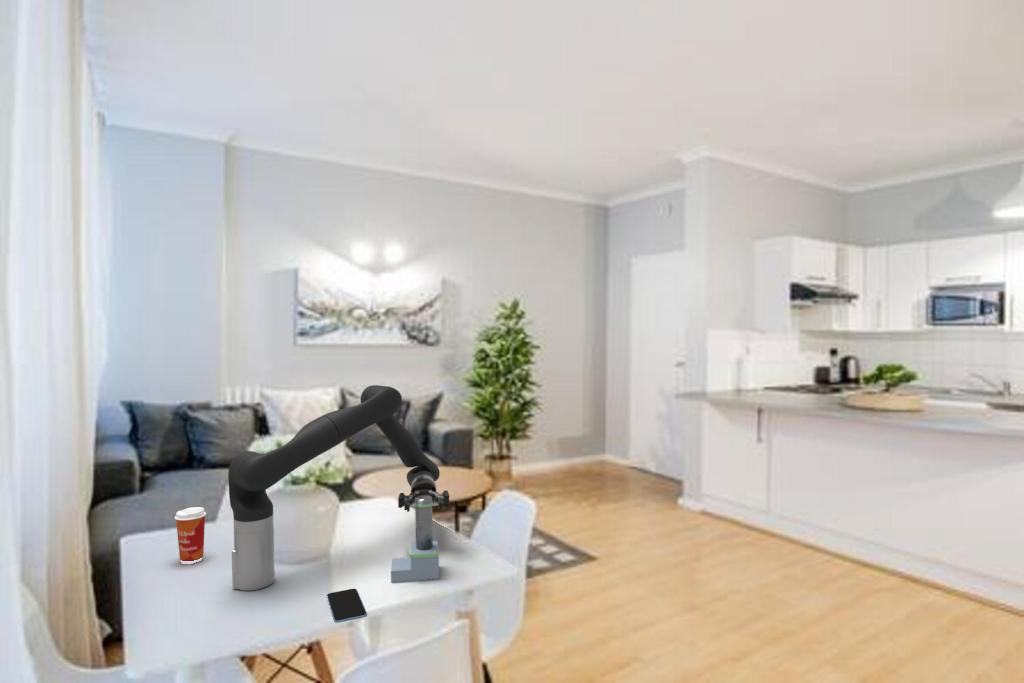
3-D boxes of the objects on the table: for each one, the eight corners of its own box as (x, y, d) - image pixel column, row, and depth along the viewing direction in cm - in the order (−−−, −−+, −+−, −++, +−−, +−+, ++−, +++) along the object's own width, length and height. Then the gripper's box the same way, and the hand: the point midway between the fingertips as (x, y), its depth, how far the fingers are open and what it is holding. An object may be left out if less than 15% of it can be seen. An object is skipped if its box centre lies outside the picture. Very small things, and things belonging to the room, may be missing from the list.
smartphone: (356, 587, 148) (368, 614, 134) (356, 590, 148) (368, 617, 134) (325, 593, 145) (334, 621, 131) (325, 596, 145) (334, 625, 131)
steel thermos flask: (415, 551, 153) (414, 501, 153) (415, 544, 158) (414, 495, 157) (433, 549, 154) (432, 500, 154) (432, 543, 159) (432, 494, 158)
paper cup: (169, 563, 163) (168, 513, 163) (193, 553, 170) (192, 505, 170) (190, 568, 160) (188, 516, 160) (214, 557, 167) (212, 508, 167)
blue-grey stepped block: (391, 583, 150) (390, 556, 150) (392, 569, 159) (391, 543, 158) (438, 579, 152) (438, 552, 152) (437, 566, 161) (437, 540, 160)
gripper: (399, 478, 177) (397, 495, 161) (447, 476, 179) (450, 492, 163) (399, 503, 177) (397, 522, 161) (447, 500, 180) (450, 519, 164)
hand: (424, 507), depth 162 cm, fingers open, 8 cm apart
